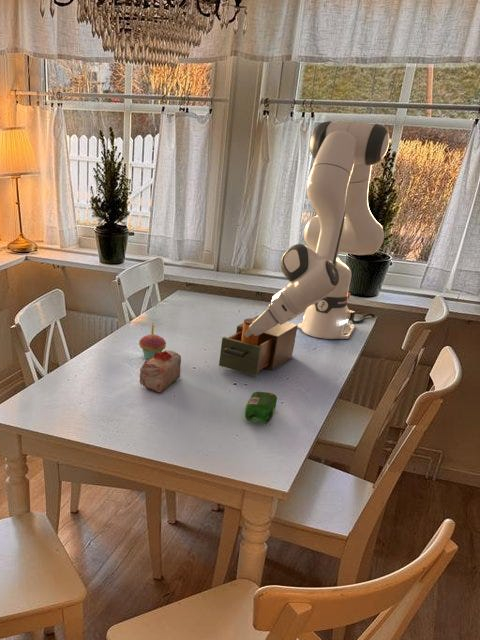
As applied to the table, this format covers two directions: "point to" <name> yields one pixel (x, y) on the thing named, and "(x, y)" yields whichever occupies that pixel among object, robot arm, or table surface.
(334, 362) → the table surface
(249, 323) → the cookie roll
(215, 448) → the table surface
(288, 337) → the cabinet
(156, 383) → the food item
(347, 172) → the robot arm
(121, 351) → the table surface
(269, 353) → the drawer
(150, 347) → the cupcake
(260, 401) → the snack package
